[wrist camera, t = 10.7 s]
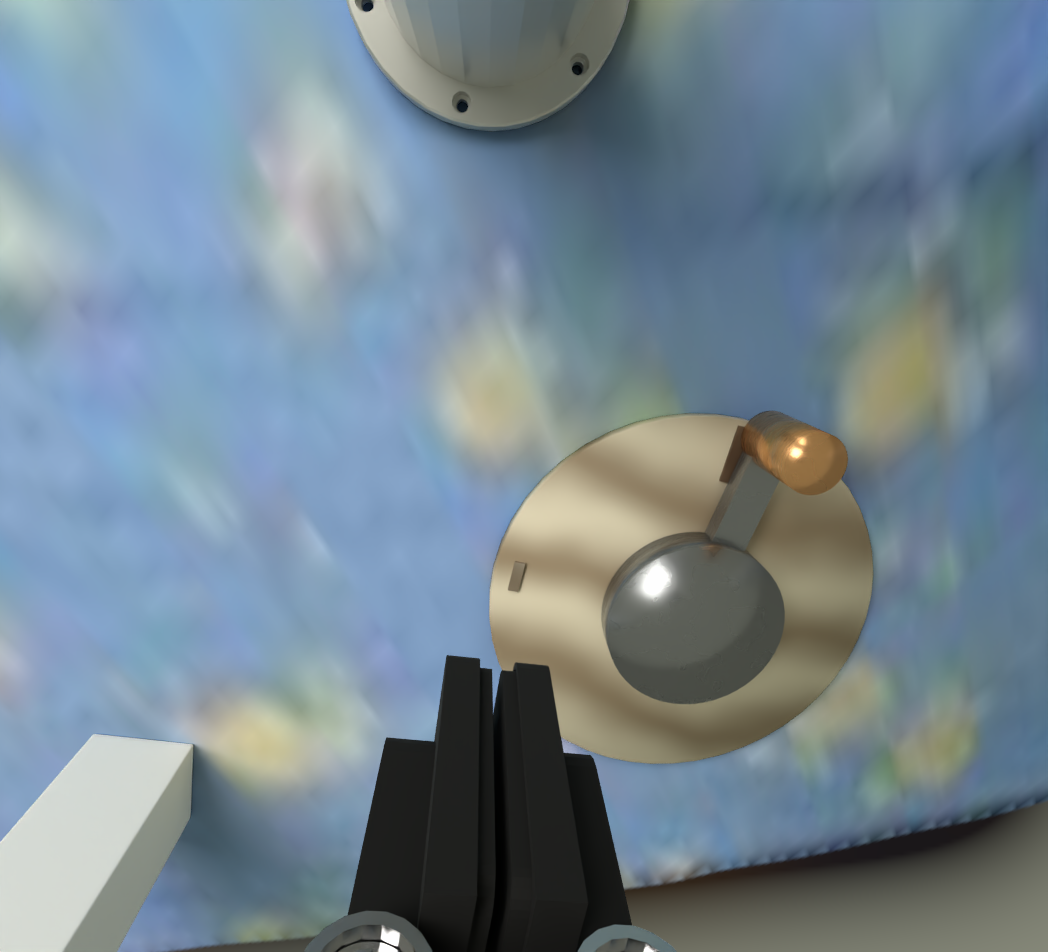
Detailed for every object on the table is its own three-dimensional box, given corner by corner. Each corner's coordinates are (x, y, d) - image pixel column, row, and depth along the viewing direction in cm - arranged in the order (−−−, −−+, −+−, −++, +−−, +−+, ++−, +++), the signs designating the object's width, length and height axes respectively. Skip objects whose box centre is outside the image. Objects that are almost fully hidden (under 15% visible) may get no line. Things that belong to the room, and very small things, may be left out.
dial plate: (540, 371, 32) (542, 374, 31) (924, 460, 35) (939, 466, 34) (454, 723, 39) (453, 737, 38) (784, 774, 42) (792, 788, 41)
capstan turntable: (725, 699, 38) (759, 759, 33) (576, 658, 36) (589, 715, 32) (860, 441, 33) (923, 468, 28) (696, 381, 32) (733, 399, 27)
